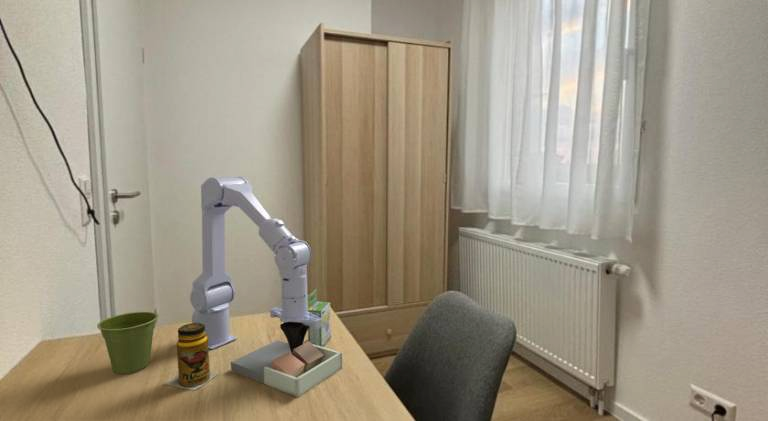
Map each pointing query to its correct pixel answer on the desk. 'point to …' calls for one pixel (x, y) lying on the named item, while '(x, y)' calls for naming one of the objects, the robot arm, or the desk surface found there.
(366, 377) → the desk surface
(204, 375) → the condiment
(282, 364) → the terracotta tile
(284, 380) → the tray
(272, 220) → the robot arm
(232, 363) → the slate board
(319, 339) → the ink box
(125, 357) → the plant pot
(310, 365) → the walnut tile
